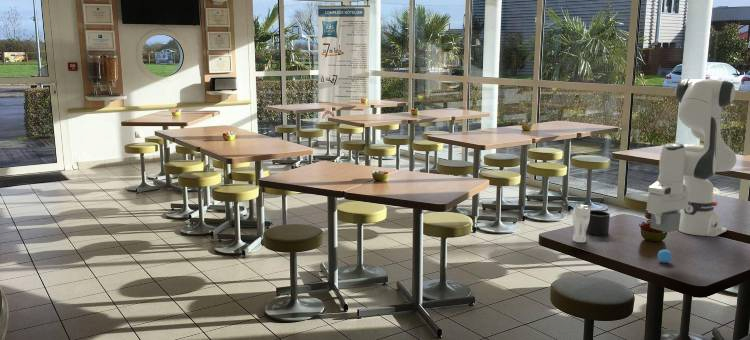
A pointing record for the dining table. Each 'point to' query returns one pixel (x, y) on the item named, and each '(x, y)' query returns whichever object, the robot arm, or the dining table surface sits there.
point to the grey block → (667, 221)
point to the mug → (598, 223)
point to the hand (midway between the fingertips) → (666, 222)
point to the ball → (664, 256)
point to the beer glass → (580, 223)
